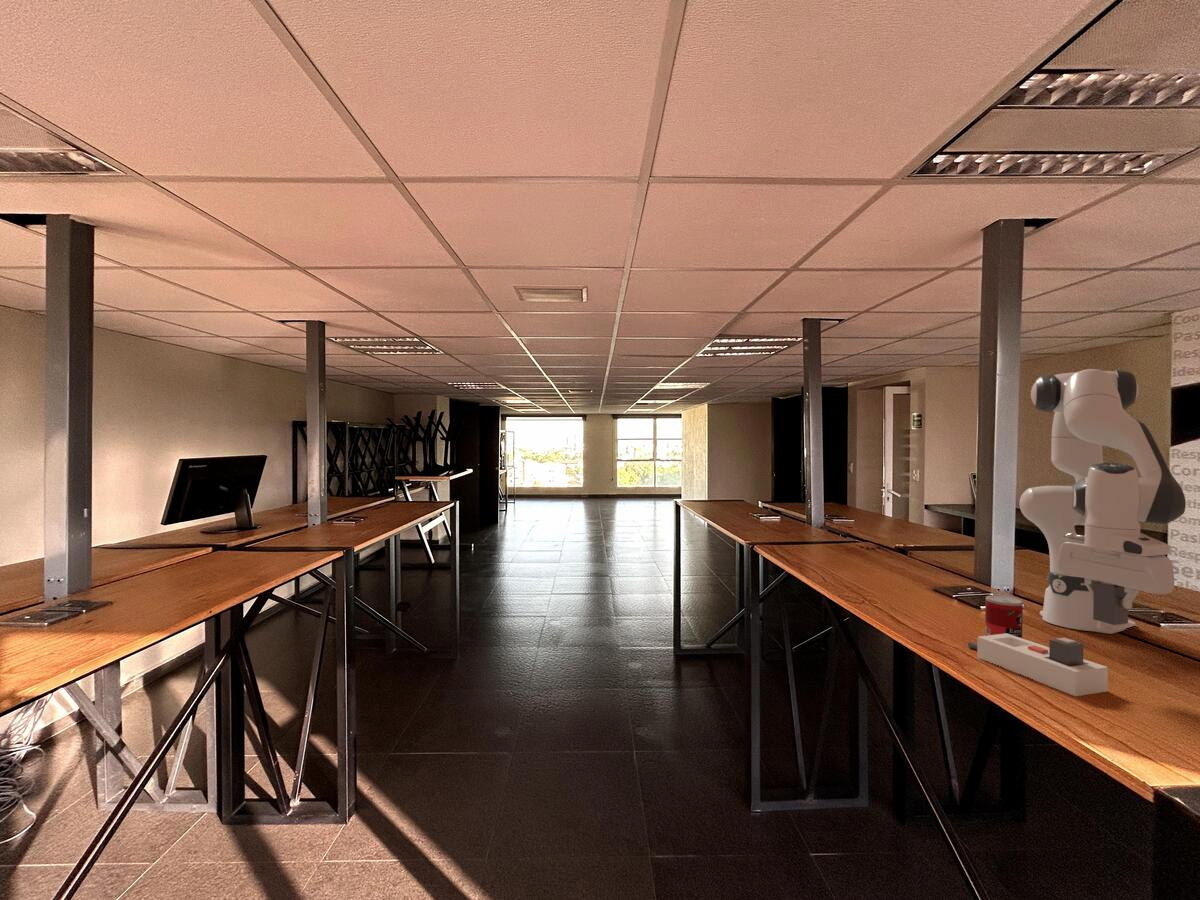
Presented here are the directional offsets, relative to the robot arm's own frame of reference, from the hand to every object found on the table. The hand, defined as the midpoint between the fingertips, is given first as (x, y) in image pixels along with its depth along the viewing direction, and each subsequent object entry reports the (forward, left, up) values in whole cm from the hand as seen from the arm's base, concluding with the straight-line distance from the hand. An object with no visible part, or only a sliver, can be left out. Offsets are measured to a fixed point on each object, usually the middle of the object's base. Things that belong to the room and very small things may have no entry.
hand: (1110, 604), depth 123 cm
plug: (0, 0, -4) cm, 4 cm away
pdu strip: (+10, -11, -17) cm, 22 cm away
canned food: (-2, -26, -17) cm, 31 cm away
